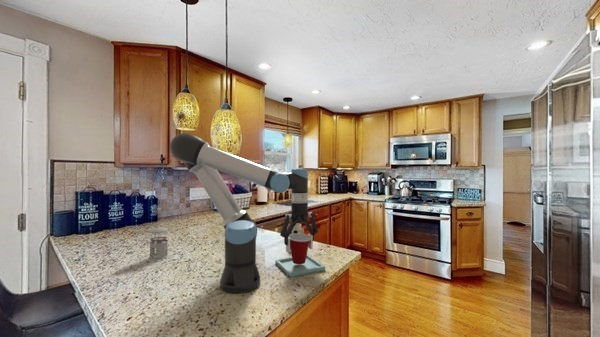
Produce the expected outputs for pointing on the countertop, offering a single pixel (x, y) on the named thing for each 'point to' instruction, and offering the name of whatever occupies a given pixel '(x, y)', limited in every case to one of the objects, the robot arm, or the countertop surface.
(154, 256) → the french press
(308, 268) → the tray
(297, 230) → the character mug
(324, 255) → the countertop surface
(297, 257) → the plastic cup
